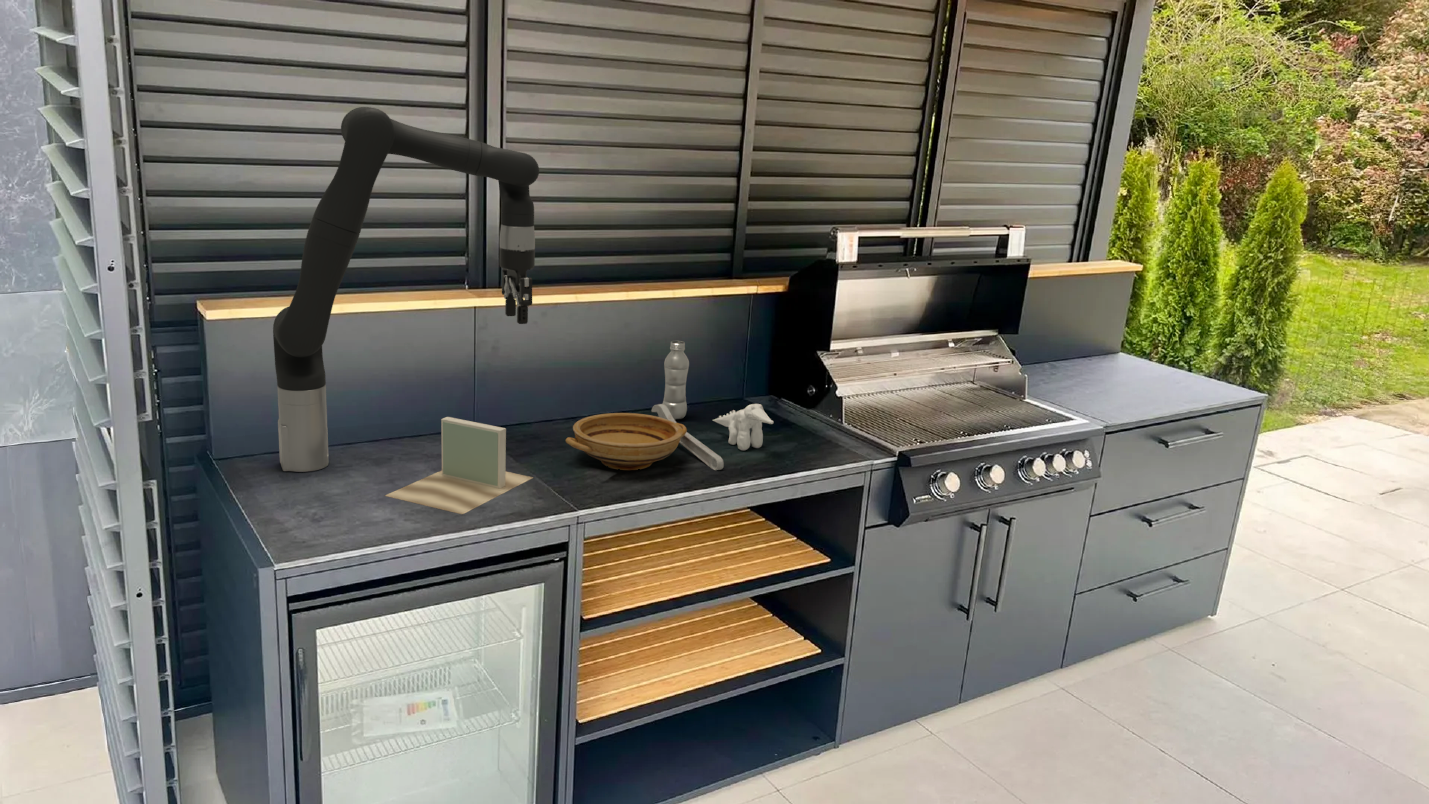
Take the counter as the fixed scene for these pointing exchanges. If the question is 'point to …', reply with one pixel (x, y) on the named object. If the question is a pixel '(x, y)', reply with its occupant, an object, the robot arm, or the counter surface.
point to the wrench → (692, 442)
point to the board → (454, 492)
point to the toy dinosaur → (745, 426)
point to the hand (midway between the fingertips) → (516, 319)
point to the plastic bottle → (676, 380)
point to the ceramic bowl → (626, 439)
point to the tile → (473, 452)
